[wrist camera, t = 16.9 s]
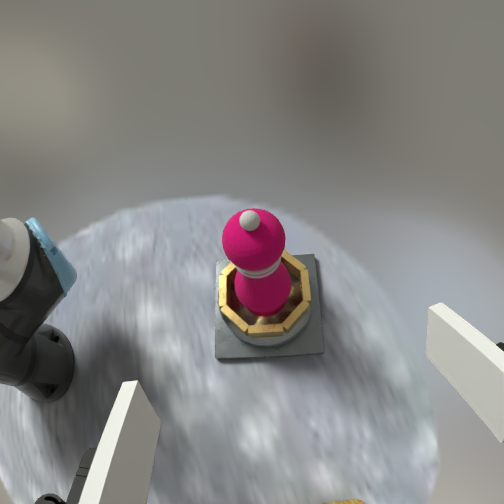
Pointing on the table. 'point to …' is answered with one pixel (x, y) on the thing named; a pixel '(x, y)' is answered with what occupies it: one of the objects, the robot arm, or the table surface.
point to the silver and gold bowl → (274, 327)
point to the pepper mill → (258, 260)
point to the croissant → (346, 502)
